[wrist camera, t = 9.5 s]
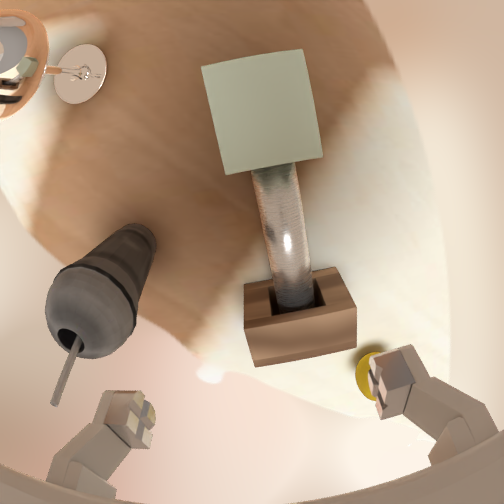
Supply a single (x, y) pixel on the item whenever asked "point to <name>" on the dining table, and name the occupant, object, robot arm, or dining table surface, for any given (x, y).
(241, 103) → the sage green block
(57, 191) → the dining table surface
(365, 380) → the lemon
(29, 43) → the wineglass
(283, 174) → the tube
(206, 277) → the dining table surface
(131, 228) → the beverage cup
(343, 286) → the socket
